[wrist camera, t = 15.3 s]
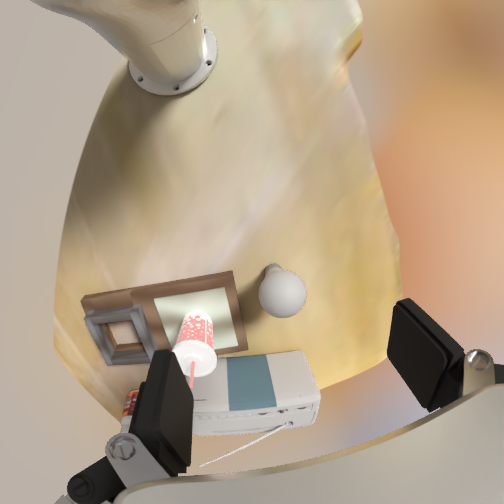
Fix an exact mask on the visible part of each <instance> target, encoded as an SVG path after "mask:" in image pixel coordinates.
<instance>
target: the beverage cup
mask: <svg viewBox="0 0 504 504" xmlns="http://www.w3.org/2000/svg"><path fill="white" fill-rule="evenodd" d="M172 352H174V353H175V355H176V357H177V360H178V362H179V364H180V367H181V369H182V371H183V374H184V375H186V376H189V377H190V382H189V387H190V389H191V390H193V381H194V377H202V376H206V375H208V374H210V373H211V372H213V370H214V369H215V368H216V364H217V356H216V354H215V351H214V340H213V326H212V320H211V318H210V317H209V316H208V315H207V314H206V313H204V312H201V311H193V312H190V313H188V314H187V315H186V316H185V317H184V319H183V322H182V325H181V329H180V332H179V335H178V338H177V342H176V345H175V346H174V348H173V350H172Z"/></svg>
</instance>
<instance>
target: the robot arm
mask: <svg viewBox="0 0 504 504" xmlns="http://www.w3.org/2000/svg"><path fill="white" fill-rule="evenodd" d="M31 1H33V2H34V3H36V4H37V5H39V6H41V7H43V8H45V9H48V10H50V11H53V12H56V13H59V14H62V15H65V16H69V17H72V18H74V19H77V20H79V21H81V22H83V23H85V24H86V25H88V26H89V27H91V28H92V29H94V30H95V31H96V32H97V33H99V34H100V35H101V36H102V37H103V38H104V39H106V40H107V41H108V42H109V43H110V44H111V45H112V46H113V47H114V48H115V49H117V50H118V51H119V52H120V53H121V54H122V55H123V56H124V57H125V58H126V59H128V60H129V70H130V74H131V76H132V78H133V80H134V81H135V82H136V83H137V84H138V85H139V86H140V87H141V88H143V89H144V90H146V91H148V92H150V93H153V94H156V95H163V96H165V95H176V94H181V93H184V92H187V91H189V90H191V89H193V88H195V87H197V86H198V85H199V84H200V83H202V82H203V81H204V80H205V79H206V78H207V77H208V76H209V75H210V73H211V72H212V70H213V69H214V66H215V64H216V62H217V57H218V46H217V41H216V38H215V36H214V34H213V33H212V32H211V30H210V29H209V28H207V27H206V26H205V25H203V22H202V16H201V9H200V2H199V0H31ZM204 32H205V33H204ZM208 64H211V65H210V66H208ZM142 79H143V81H142V82H141V80H142ZM176 88H179V90H176ZM463 351H464V349H463V348H462V347H461V346H460V345H459V344H458V343H457V342H456V341H455V340H454V339H453V338H452V337H451V336H450V335H449V334H448V333H447V332H446V331H445V330H444V329H443V328H442V327H440V326H439V325H438V324H437V323H436V322H435V321H434V320H433V319H432V318H431V317H430V316H429V315H428V314H427V313H426V312H425V311H424V310H422V309H421V308H420V307H419V306H418V305H417V304H416V303H415V302H414V301H413V300H411V299H410V298H406V299H403V300H400V301H398V302H397V303H396V305H395V306H394V308H393V315H392V322H391V329H390V336H389V342H388V348H387V356H388V358H389V360H390V361H391V363H392V364H393V366H394V367H395V368H396V370H397V371H398V373H399V374H400V375H401V377H402V378H403V380H404V381H405V383H406V384H407V385H408V387H409V388H410V390H411V391H412V393H413V394H414V395H415V397H416V398H417V400H418V401H419V403H420V404H421V406H422V407H423V408H427V410H428V412H429V413H430V412H432V411H434V410H436V409H438V408H439V407H440V408H441V409H439V410H437V411H435V412H433V413H432V414H429V415H427V416H426V417H424V418H421V419H419V420H417V421H415V422H413V423H411V424H409V425H407V426H405V427H402V428H400V429H398V430H395V431H393V432H391V433H388V434H386V435H383V436H381V437H378V438H376V439H373V440H370V441H368V442H365V443H362V444H360V445H356V446H353V447H350V448H347V449H344V450H341V451H338V452H335V453H331V454H328V455H324V456H320V457H316V458H312V459H308V460H304V461H299V462H295V463H290V464H285V465H280V466H275V467H269V468H263V469H256V470H249V471H241V472H232V473H223V474H210V475H194V476H178V473H186V468H187V466H190V464H191V445H192V425H193V409H194V397H193V394H192V392H191V389H190V387H189V385H188V383H187V380H186V378H185V376H184V374H183V371H182V369H181V367H180V364H179V362H178V360H177V357H176V355H175V353H174V352H170V350H169V349H161V350H155V351H154V353H153V357H152V361H151V364H150V368H149V371H148V375H147V379H146V382H142V383H141V385H140V388H139V391H138V395H137V399H136V403H135V407H134V410H133V414H132V418H131V422H130V427H129V431H128V433H119V434H117V435H115V436H113V437H112V438H111V439H110V440H109V441H108V442H107V445H106V447H105V453H106V455H107V456H105V457H103V458H102V459H100V460H99V461H97V462H96V463H94V464H93V465H91V466H89V467H88V468H86V469H85V470H83V471H81V472H80V473H78V474H76V475H74V476H73V477H72V478H71V479H70V481H69V482H68V486H67V492H68V494H67V495H66V496H64V495H62V496H61V497H60V498H59V499H58V500H57V501H56V503H55V504H504V365H500V364H494V362H493V358H492V357H491V355H490V354H489V353H488V352H486V351H484V350H481V349H473V350H470V351H469V352H467V354H465V353H464V352H463Z"/></svg>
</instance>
